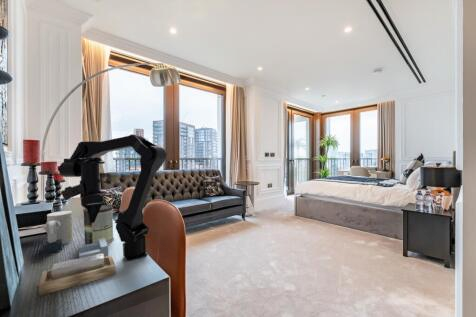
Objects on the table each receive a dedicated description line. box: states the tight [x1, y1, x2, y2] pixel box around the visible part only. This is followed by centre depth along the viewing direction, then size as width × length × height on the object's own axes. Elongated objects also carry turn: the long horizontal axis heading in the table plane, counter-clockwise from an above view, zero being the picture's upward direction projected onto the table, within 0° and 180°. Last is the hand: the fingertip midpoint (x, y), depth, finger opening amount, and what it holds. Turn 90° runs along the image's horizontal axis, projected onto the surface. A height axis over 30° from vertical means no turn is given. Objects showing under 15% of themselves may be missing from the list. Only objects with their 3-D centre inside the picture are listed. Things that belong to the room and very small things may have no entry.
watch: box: [42, 221, 63, 255], centre depth 86 cm, size 6×8×11 cm
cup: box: [46, 210, 74, 246], centre depth 95 cm, size 8×8×12 cm
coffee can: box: [82, 204, 114, 245], centre depth 94 cm, size 10×10×14 cm
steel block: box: [51, 253, 104, 281], centre depth 66 cm, size 12×4×4 cm, turn 123°
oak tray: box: [38, 254, 117, 297], centre depth 66 cm, size 17×9×3 cm, turn 125°
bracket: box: [78, 237, 109, 259], centre depth 79 cm, size 8×10×4 cm
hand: (91, 220), depth 83 cm, fingers open, 9 cm apart
